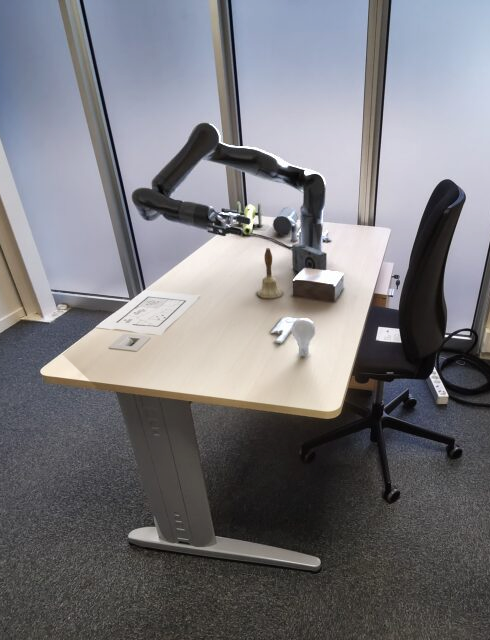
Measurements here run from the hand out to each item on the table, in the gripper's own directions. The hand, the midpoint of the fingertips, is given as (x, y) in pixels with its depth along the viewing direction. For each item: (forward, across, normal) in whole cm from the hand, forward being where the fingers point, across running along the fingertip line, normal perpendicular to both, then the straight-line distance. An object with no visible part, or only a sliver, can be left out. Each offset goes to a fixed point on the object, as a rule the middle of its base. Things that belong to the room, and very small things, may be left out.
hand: (246, 226), depth 142 cm
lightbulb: (+29, +41, -13) cm, 52 cm away
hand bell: (+9, +3, -22) cm, 24 cm away
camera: (+18, -20, -24) cm, 36 cm away
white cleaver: (+20, +28, -16) cm, 38 cm away
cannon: (-22, -73, -37) cm, 85 cm away
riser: (+25, -3, -20) cm, 33 cm away
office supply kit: (+5, -78, -34) cm, 85 cm away
